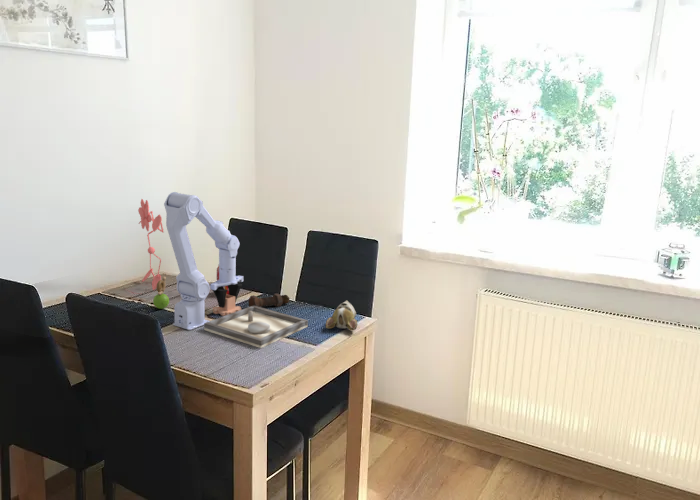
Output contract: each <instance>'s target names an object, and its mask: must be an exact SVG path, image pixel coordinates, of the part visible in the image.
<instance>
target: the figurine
mask: <svg viewBox="0 0 700 500" xmlns="http://www.w3.org/2000/svg"><path fill="white" fill-rule="evenodd" d="M149 210H150V206H149V201H148V199H146V200H145V201H144V199H143V198H141V200H140V207H138V210H137V211H138V214H139V215H140V216H139V217H140V221H139V222H138V224H139V225H140V224H141V228H142V230H144V229H145V230H146V232H148V233H147V235H146V236H147V240H148V241H147V242H148V249H147V253H148V254H149V270H148V271H147V272H146V274H145V275H144V277H142V280H141V283H144V282H145V281H146V280H147V279H148V278H149V277H150V276H151V275H152V276H153V277H152V281H151V288H152V290H153V291H155V290H157V289H156V287H157V283H158V281H160V280H162V275H161V273H160V268H161V264H162V259H161V258H160V257H159V256H157V255H156V254H155V251H156V249H155V247H153V246H151V242H150V237H149V236H150V234H152V233H154V232H157V230H158V231H160V232H161V233H164V228H163V223H162V221H163V220H162V215H161V214H157V216H155V217H154V215H153V210H150V211H149ZM150 223H151V228H152V230H151V231H150ZM160 228H161V229H160ZM149 231H150V232H149ZM152 255H153V256H155V257H156V258H157V259H158V260H159V266H158V270H157V274H156V275H155V273H154V272H153V271H154V268H152V260H151V259H152ZM124 290H126V291H128V292H129V293H131V294H135V292H132V291H131V290H129V289H128V290H127V289H126V288H125V289H124ZM136 294H138V295H141V293H139V292H136Z"/></svg>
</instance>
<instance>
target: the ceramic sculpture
mask: <svg viewBox="0 0 700 500" xmlns="http://www.w3.org/2000/svg"><path fill="white" fill-rule="evenodd" d="M356 316H357V312H356V310H355V307H354V306H353V305H352V303H351V302H349V301H348V300H345V301H344V302H342V303H340V304H339V305H338V306H337V307H336V309H334V312H333V313H332V315H331V316H330V317H328V318H327V319H326V321H325V329H331V330H332V329H334V328H335V327H336V328H338V329H342V330H345V329H348V330H349V331H355V330H357V326H358V320H357V319H356Z"/></svg>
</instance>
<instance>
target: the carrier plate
mask: <svg viewBox="0 0 700 500" xmlns="http://www.w3.org/2000/svg"><path fill="white" fill-rule="evenodd" d="M208 321H209V322H206V323H204V325H203V329H204V331H206V332H209V333H212V334H216V335H219V336H221V337H223V338H228V339H231V340H234V341H238V342H240V343H244V344H247V345H250V346H253V347H256V348H259V349H263V348H265V347H267V346H269V345H271V344H273V343H275V342H277V341H280V340H282V339H284V338H287V337H289V336H291V335H293V334H295V333H297V332H300V331H302V330H303V329H306V328H308V326H309V322H308V321H309V320H308V319H304V318H302V317H297V316H295V315H290V314H286V313H282V312H280V311H275V310H272V309H268V308H265V307H258V306H254V305H253V306H251V307H249V306H248V307H245V308H243V309H242V308H241V310H240V311H237V312H234V313H231V314H229V315H226V316H221V317H218V318H215V319H212V320H208Z"/></svg>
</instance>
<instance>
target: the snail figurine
mask: <svg viewBox="0 0 700 500" xmlns="http://www.w3.org/2000/svg"><path fill="white" fill-rule="evenodd" d="M162 275H163V276H162V277H161V280H160V281H158V283H157V287H156V289H155V290H156V292H157V294H155V296H154V297H153V300H152V304H153V306H154V307H155V308H157V309H159V310H162V309H165V308H167V307H168V305H169V304H170V298H169V296H168V295H167V294H165V293H164V292H165V290H166V286H167V285H166V280H167V277H166V275H167V273H164V272H162Z"/></svg>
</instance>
